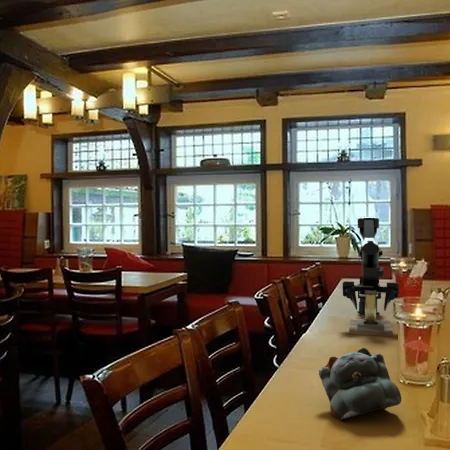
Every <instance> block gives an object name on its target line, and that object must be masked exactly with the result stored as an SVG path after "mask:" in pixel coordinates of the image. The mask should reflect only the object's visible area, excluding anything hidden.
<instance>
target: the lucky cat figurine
mask: <svg viewBox="0 0 450 450" xmlns="http://www.w3.org/2000/svg"><path fill="white" fill-rule="evenodd" d="M318 375H319V378H320V380H321V384H322V386H323V388H324V391H325V394H326V396H327V399H328V401H329V404H330V408H329V409H330V413H331V416H332V417H334V418H336V419H338V420H339V421H340V422H342V421H344V420H346V419H349V418H352V417H356V416H359V415H363V414H366V413H370V412H373V411H376V410H386V409H388V408H391V407H395V406H398V405H400V404H401V403H402V394H401V391H400V389H399V386H397V385H396V383H394V381H392V380H391V377H390V375H389V370H388V368H387V366H386V362H385V358H384V355H383V354H381V353H378V352H377V353H374V354H373V355H372V353H371V352H370V351H369V349H368V348H366V347H361V348H360V349H358V351H355V352H354V351H352V352H351V351H350V352H347V353H344V354H342V355H340V356H339V357H337V356H330V357H329V359H328V361H327V364H326V365H325V366H322V367H321V369H319V370H318Z"/></svg>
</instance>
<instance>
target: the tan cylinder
mask: <svg viewBox="0 0 450 450" xmlns="http://www.w3.org/2000/svg"><path fill="white" fill-rule="evenodd" d="M376 296H377V295H376V290H365V314H364V320H365V324H373V325H376V320H377V314H376Z"/></svg>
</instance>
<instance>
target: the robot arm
mask: <svg viewBox="0 0 450 450" xmlns="http://www.w3.org/2000/svg"><path fill="white" fill-rule="evenodd" d="M379 228H380V218H378V217H376V216H360V217H359V218H357V229H359V230H358V231H359V235H360V236H361V238H362V239H363V240H362V241H361V242H360V247H359V248H358V258H360V260H361V275H360V277H359V282H358V283H357V284H355V281H349V280H348V281H347V280H345V281H343V282H342V296H343V297H345V298H346V299H349V300H350V301H351V303H352V304H353V307H354V308H355V310H356V311H357V310H358V311H357V314H358V313H359V314H361V315H365V290H376V315H380V314H381V312H380V311H379V312H378V300H380V299H382V294H385V296H384V304H383V310H384V312H386V311H387V308H388V306H389V304H390V303H391V302H392V301H393V300H395V299H398V298H399V292H400V285H399V283H398V282H388V281H387V282H386V286H381V285H380V278H384V275H385V274H384V267H383V266H379V259H381V257H382V256H383V251H382V249H381V248H380V247H379V242H378V241H377V240H376V238H375V237H376V235H377V234H378V233H377V232H378V229H379ZM356 292H357V295H356ZM357 299H359V302H358V301H357Z"/></svg>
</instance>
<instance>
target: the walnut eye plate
mask: <svg viewBox="0 0 450 450" xmlns="http://www.w3.org/2000/svg"><path fill="white" fill-rule="evenodd" d="M348 334H349V335H361V336H362V335H363V336H378V337H379V336H380V337H381V336H384V337H394V332H393V328H392V323H391V321H390V320H377V319H376V325H373V324H365V319H350V320H349V327H348Z"/></svg>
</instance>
